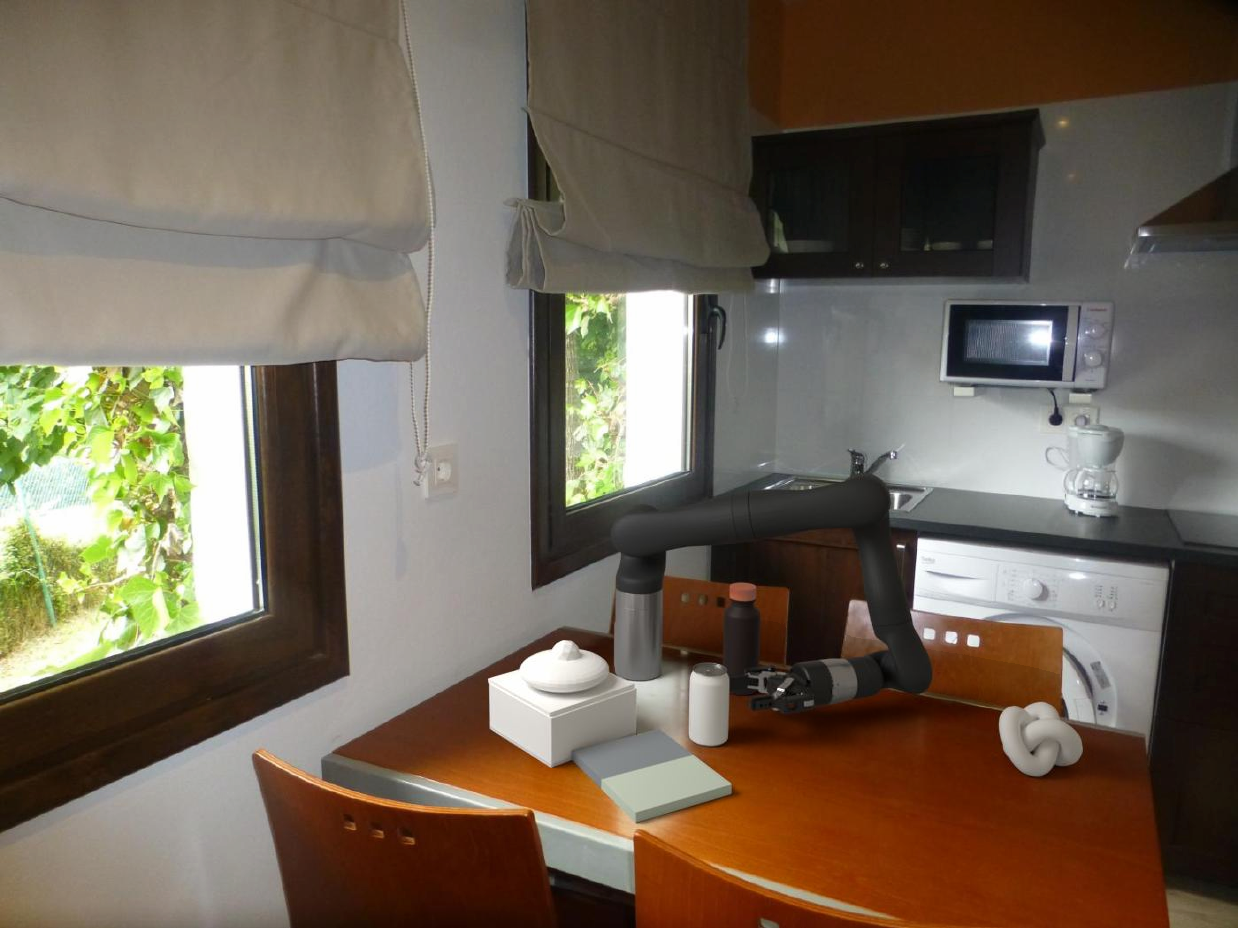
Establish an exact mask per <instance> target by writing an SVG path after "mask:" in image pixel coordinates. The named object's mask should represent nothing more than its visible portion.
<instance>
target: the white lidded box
mask: <svg viewBox="0 0 1238 928" xmlns="http://www.w3.org/2000/svg"><path fill="white" fill-rule="evenodd" d="M487 680H488V681H487V682H488V684H489V685H488V690H489V691H488V693H489V701H488V702H489V730H492V731H493V732H494V733H496V734H497V735H499V736H501V737H502V738H503V739H505V740H507V741H508V742H509V743H511V744H512V745H514V746H516V747H517V748H519V749H521V750H522V751H524V752H525V753H527V754H528V755H530V756H532V757H533V758H535V759H537V760H539V761H540V762H541V763H542V764H545V766H548V767H549V768H554V767H557V766H560V765H562V764H565V763H567V762H569V761H573V760H572V750H576V749H581V748H585V747H589V746H593V745H597V744H601V743H605V742H609V741H613V740H617V739H621V738H625V737H629V736H633V735H637V734H636V733H637V697H638V696H637V693H638V692H637V688H635V685H636V683H633V682H631V680H628V679H625V678H622V677H620V676H618V675H617V674H614V673H612V672H610V668H609V664H608V662H607V661H606V660H605V659H604V658H603V657H601V656H600V655H598V654H597V653H595V652H592V651H588V650H584V649H580V648H579V646H578V645H577V644H576V643H575V642H574V641H572V640H567V639H566V640H561V641H559V642H557V643H556V644H554V646H553V647H552V649H547V650H542V651H539V652H536V653H534V654H532V655H530V656H528V657H527V658H526V659H525V660H524V661H523V662H522V663H521V664H520V667H519V669H516V670H514V671H509V672H506V673H502V674H499V675H496V676H492V677H490V678H488V679H487Z"/></svg>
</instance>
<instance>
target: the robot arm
mask: <svg viewBox="0 0 1238 928" xmlns="http://www.w3.org/2000/svg"><path fill="white" fill-rule="evenodd" d="M891 498H892V497H891V493H890V490H889V488H888V485H887V484H886V483H885V481H883V479H881V478H880V477H878V476H877V475H875V474H872V473H869V472H859V473H854V474H852V475H850V476H849V477H847V478H846V479H845V480H843V481H839V482H835V483H831V484H828V485H822V486H818V487H814V488H813V487H812V488H806V489H781V488H780V489H777V488H776V489H774V488H772V489H756V490H755V489H754V490H748V491H747V490H745V491H741V492H740V491H739V492H734V493H728V494H725V495H720V496H716V497H712V498H709V499H706V500H703V501H700V502H698V503H695V504H691V505H688V506H685V507H682V508H676V509H669V510H658V508H656V507H655V506H653V505H650V504H645V503H643V504H636V505H634V506H632V507H630V508H628V509H627V510H626V511H624V512H622V513H621V514H620V515H618V517H617V518H616V519H615V521H614V522H613V525H612V526H611V530H610V535H609V537H610V541H611V543H612V545H613V547H614V548H615V549H616V550H617V552H619V553H620V559H619V564H618V568H617V571H616V574H615V621H614V623H613V625H614V628H613V629H614V631H613V632H614V633H613V635H614V636H613V641H614V642H613V668H614V672H615V675H616V676H619V677H621V678H623V679H625V680H628V681H648V680H649V681H650V680H652V679H656V678H659V676H661V675H662V671H663V670H662V668H663V666H662V663H663V660H662V659H663V658H662V657H663V612H664V610H663V608H664V606H663V603H664V601H663V598H664V597H663V596H664V595H663V591H664V590H663V589H664V576H665V573H666V565H667V551H673V550H678V549H682V548H689V547H707V546H718V545H732V544H742V543H749V542H758V541H763V540H769V539H775V538H779V537H785V536H790V535H794V534H799V533H802V532H808V531H815V530H827V529H832V530H833V529H851V532H852V535H853V537H854V541H855V543H856V548H857V552H858V555H859V556H858V557H859V562H860V566H861V567H860V568H861V574H862V582H863V588H864V595H865V600H866V606H867V609H868V610H867V611H868V615H869V617H870V623H871V628H872V631H873V633H874V635H875V637H876V639H877V640H879V641H881V642H882V643H884V644H885V645H886V646H887V648H888V649H882V650H881V649H880V650H877V651H875V652H872V653H868V654H865V655H863V656H853V657H852V656H851V657H845V658H826V659H824V658H823V659H818V660H810V661H801V662H796V663H794V664H793V665H792V666H791V668H790V670H789V671H788V672H782V671H777V666H776V665H764V666H762V665H761V666H759V667H751V668H745V669H744V675H739V676H732V677H729V691H731V690H739V689H746V688H752V689H758V690H757V691H758V692H759V693H760V694H759V695H753V696H751V697H750V698H749V701H748V705H749V707H748V708H749V710H750V711H752V712H758V711H764V710H770V709H772V710H773V711H776V712H777V711H780V714H782V715H786V716H787V715H791V714H796V713H802V712H807V711H813V710H814V708H815V707H820V706H822V707H823V706H828V705H834V704H835V705H836V704H840V703H844V702H846V701H852V700H859V699H864V698H870V697H873V696H874V697H875V695H877V694H878V693H879V692H881V690H884V689H885V690H886V689H889V690H891V689H892V690H895V691H899V692H902V693H906V694H909V695H921V694H923V693H926V691H928V689H929V688H930V686H931V685H932V681H933V675H934V674H933V673H934V671H933V665H932V662H931V659H930V656H929V654H928V651H927V649H926V647H925V645H924V643H923V641H922V638H921V637H920V634H918V632H917V630H916V628H915V626H914V621H913V617H912V612H911V609H910V603H909V599H908V596H907V591H906V588H905V585H904V581H903V577H902V575H901V570H900V567H899V564H898V560H897V556H896V553H895V548H894V543H893V542H894V541H893V537H892V531H891V530H892V529H891V519H890V518H891V517H890V509H891V504H892V499H891ZM754 672H756V673H754ZM754 683H758V684H754ZM765 683H766V684H765ZM765 685H766V686H765ZM761 693H762V694H761ZM791 704H792V706H790V705H791Z"/></svg>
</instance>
